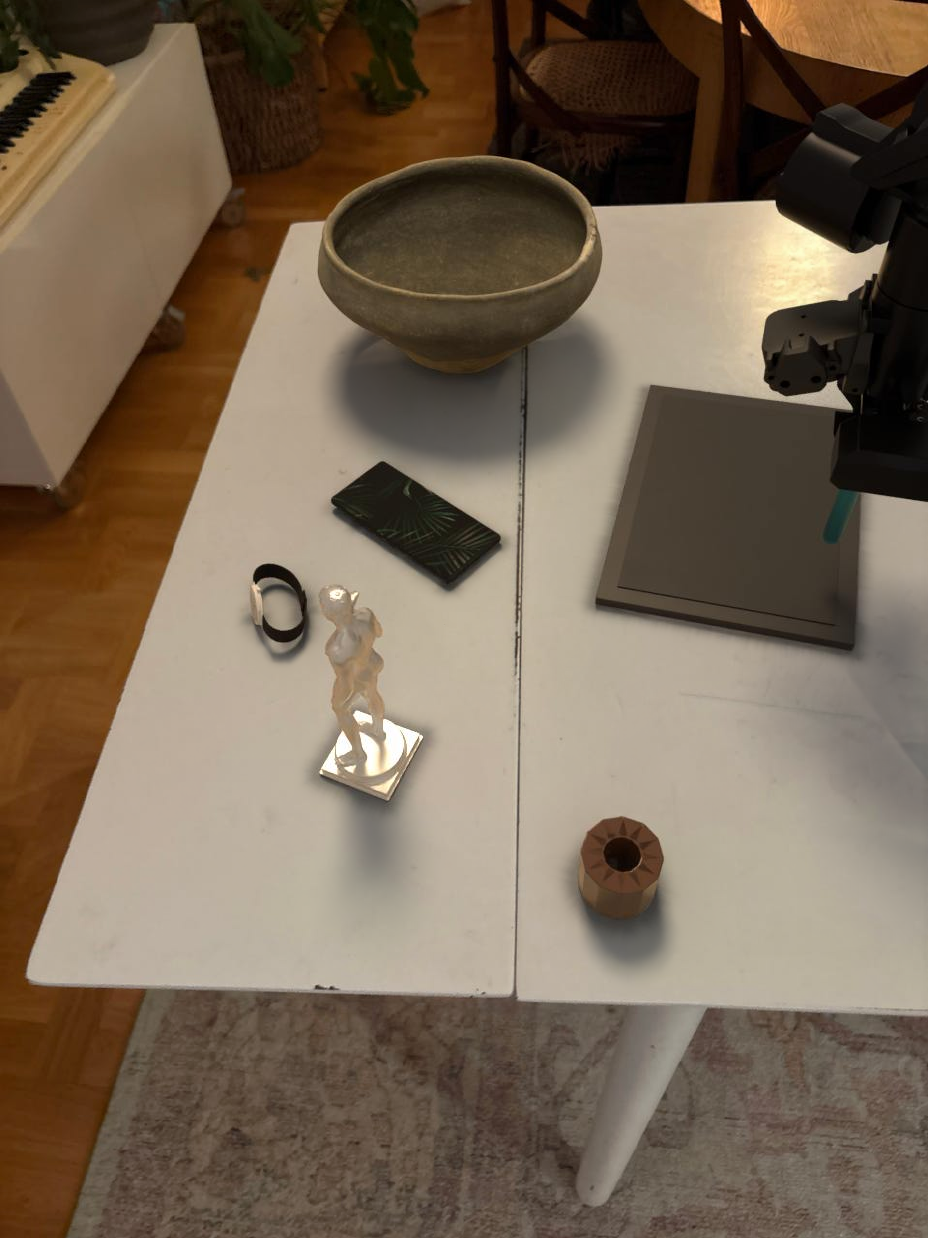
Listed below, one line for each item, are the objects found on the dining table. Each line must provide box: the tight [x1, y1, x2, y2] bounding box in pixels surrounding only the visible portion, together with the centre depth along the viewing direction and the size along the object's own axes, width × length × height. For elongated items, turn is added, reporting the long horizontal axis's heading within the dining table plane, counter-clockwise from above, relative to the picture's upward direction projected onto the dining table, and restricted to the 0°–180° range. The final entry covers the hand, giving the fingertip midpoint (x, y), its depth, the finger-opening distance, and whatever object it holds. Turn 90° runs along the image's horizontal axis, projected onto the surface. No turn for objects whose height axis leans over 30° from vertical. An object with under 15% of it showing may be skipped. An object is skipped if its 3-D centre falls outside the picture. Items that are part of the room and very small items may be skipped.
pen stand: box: [577, 815, 665, 920], centre depth 58 cm, size 5×5×4 cm
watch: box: [249, 562, 308, 644], centre depth 74 cm, size 8×5×4 cm, turn 19°
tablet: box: [594, 384, 861, 652], centre depth 80 cm, size 28×20×1 cm
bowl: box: [317, 155, 603, 374], centre depth 92 cm, size 28×28×14 cm
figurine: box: [318, 584, 424, 802], centre depth 60 cm, size 8×7×18 cm
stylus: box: [823, 489, 859, 544], centre depth 65 cm, size 1×1×13 cm
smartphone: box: [330, 460, 502, 585], centre depth 81 cm, size 7×1×15 cm
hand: (854, 480), depth 65 cm, fingers closed on stylus, 1 cm apart
